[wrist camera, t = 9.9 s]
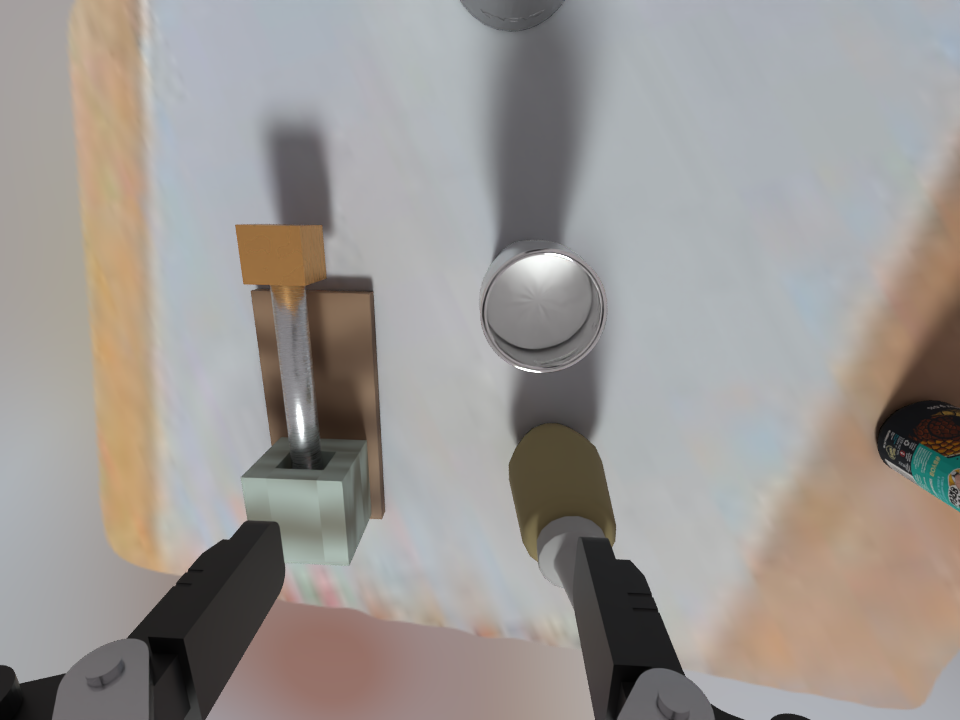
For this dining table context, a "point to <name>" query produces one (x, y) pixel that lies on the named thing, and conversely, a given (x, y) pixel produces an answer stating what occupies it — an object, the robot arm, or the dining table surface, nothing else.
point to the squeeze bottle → (559, 498)
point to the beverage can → (925, 447)
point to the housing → (322, 433)
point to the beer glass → (541, 306)
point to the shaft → (290, 320)
